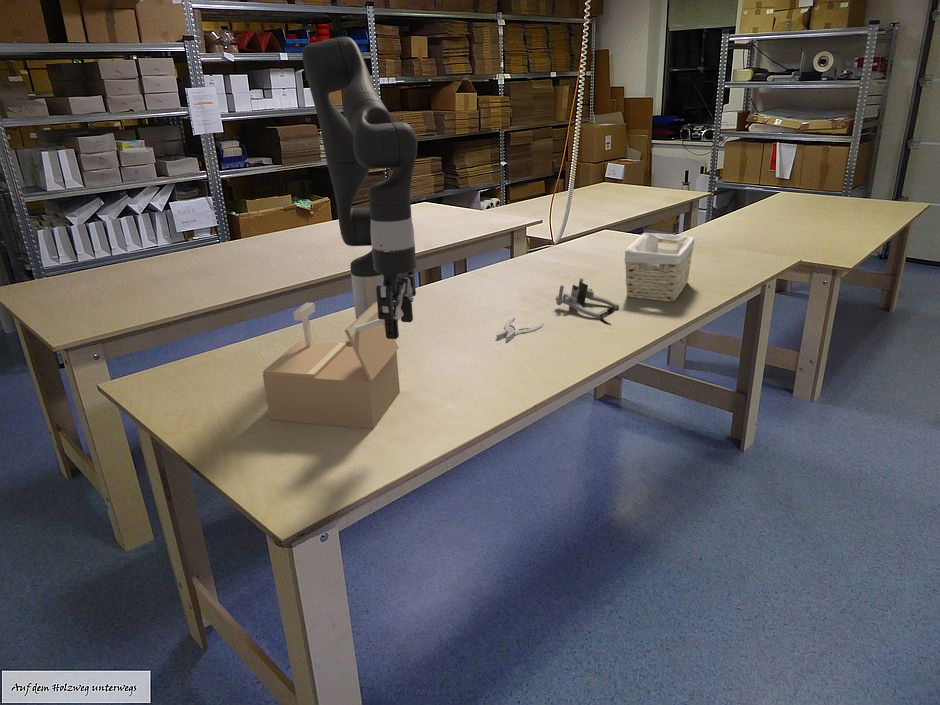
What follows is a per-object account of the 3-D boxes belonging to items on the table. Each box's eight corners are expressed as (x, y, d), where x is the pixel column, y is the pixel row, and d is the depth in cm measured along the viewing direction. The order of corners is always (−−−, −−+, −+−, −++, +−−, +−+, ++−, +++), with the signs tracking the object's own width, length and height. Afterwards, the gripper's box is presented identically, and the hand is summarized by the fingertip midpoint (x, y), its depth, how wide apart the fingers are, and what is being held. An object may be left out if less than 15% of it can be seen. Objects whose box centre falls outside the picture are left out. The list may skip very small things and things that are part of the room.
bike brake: (549, 306, 188) (608, 333, 176) (553, 284, 185) (613, 309, 173) (578, 295, 197) (635, 320, 185) (582, 274, 194) (640, 297, 182)
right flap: (374, 302, 135) (413, 288, 132) (396, 348, 138) (435, 336, 135) (344, 330, 121) (387, 315, 118) (369, 381, 124) (411, 367, 121)
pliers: (545, 320, 177) (519, 339, 165) (545, 325, 177) (519, 345, 166) (512, 314, 181) (485, 332, 170) (512, 320, 182) (485, 338, 170)
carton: (306, 384, 148) (294, 302, 140) (400, 391, 143) (393, 306, 135) (270, 419, 133) (255, 330, 125) (373, 428, 128) (364, 336, 120)
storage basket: (676, 305, 188) (680, 254, 182) (619, 298, 195) (622, 249, 190) (691, 282, 208) (696, 235, 202) (640, 276, 215) (643, 231, 209)
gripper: (386, 233, 123) (393, 315, 129) (357, 253, 110) (367, 343, 117) (425, 234, 121) (430, 317, 128) (400, 254, 109) (407, 345, 115)
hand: (400, 329), depth 122 cm, fingers open, 8 cm apart
